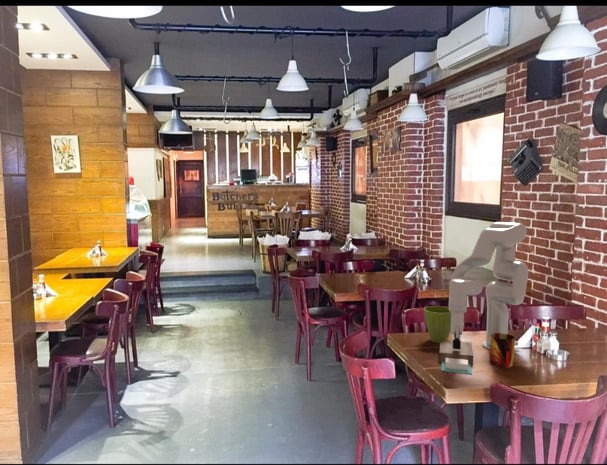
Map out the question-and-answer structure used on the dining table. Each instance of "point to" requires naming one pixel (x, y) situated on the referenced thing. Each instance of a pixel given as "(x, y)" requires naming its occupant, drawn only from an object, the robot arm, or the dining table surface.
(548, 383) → the dining table surface
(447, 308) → the flower pot
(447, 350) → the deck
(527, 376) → the dining table surface
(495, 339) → the mug
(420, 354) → the dining table surface
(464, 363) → the cream rectangular block
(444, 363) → the mat
